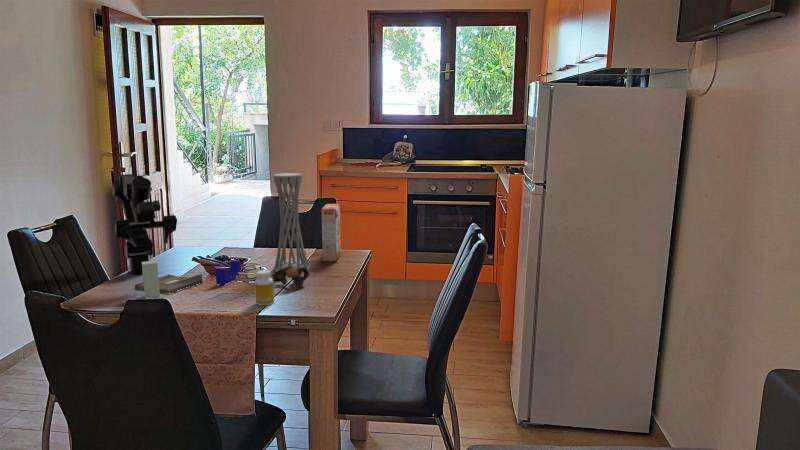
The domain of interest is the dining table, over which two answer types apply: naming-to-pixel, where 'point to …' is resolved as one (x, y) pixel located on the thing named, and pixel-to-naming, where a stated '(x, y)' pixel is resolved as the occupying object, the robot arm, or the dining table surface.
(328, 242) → the cracker box
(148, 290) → the sage block
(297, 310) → the dining table surface
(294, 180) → the vase
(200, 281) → the walnut board
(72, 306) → the dining table surface
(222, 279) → the blue notched block
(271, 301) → the supplement bottle
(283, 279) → the pottery mug
